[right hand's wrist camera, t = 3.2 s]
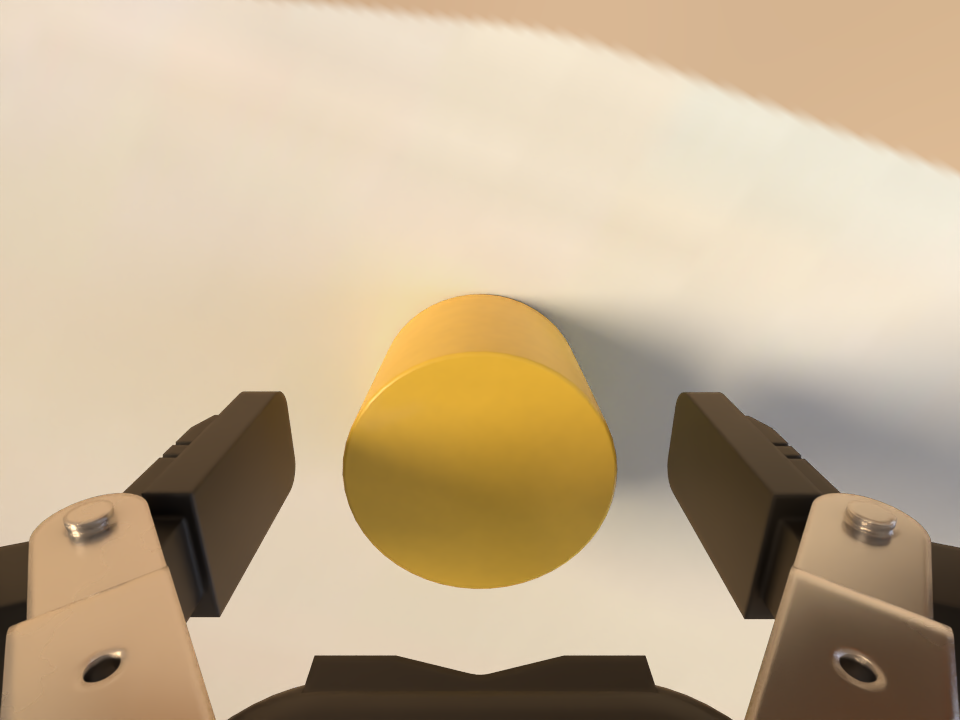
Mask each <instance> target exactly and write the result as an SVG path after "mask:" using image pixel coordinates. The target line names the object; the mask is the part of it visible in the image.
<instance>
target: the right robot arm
mask: <svg viewBox="0 0 960 720" xmlns="http://www.w3.org/2000/svg"><path fill="white" fill-rule="evenodd" d="M294 476H295V456H294V449H293V442H292V435H291V428H290V421H289V414H288V407H287V401H286V398H285V396H284V394H283V393H282V392H241V393H240V394H239V395H238V396H237V397H236V398H235V399H234V400H233V401H232V402H231V403H230V404H229V405H228V406H227V407H226V408H225V409H224V410H223V411H222V412H221V413H220V414H219V415H214V416H212V417H210V418H208V419H206V420H204V421H203V422H201V423H199V424H197V425H195V426H193V427H191V428H190V429H189V430H188V431H187V432H186V433H185V434H184V435H183V436H182V437H181V438H180V439H179V440H178V441H177V442H176V445H172V446H171V447H170V448H169V449H168V450H167V451H166V452H165V453H164V454H163V458H159V459H158V460H157V461H156V462H155V463H154V464H153V465H151V466H150V467H149V468H148V469H147V470H146V471H145V472H144V473H143V474H142V475H141V476H140V477H139V478H138V479H137V480H136V481H135V482H134V483H133V484H132V485H131V486H130V487H128V488H127V489H126V490H125V491H124V492H123V493H114V494H106V495H101V496H96V497H92V498H89V499H86V500H83V501H80V502H77V503H75V504H72V505H70V506H68V507H66V508H64V509H62V510H60V511H58V512H56V513H55V514H53V515H51V516H50V517H48V518H47V519H46V520H44V521H43V522H42V523H41V524H40V525H39V526H38V527H37V528H36V529H35V530H34V531H33V533H32V535H31V537H30V540H29V542H24V543H18V544H13V545H8V546H3V547H0V720H216V719H215V716H214V713H213V710H212V706H211V703H210V700H209V697H208V693H207V690H206V687H205V684H204V680H203V677H202V674H201V671H200V667H199V664H198V661H197V658H196V654H195V651H194V648H193V645H192V641H191V638H190V635H189V632H188V628H187V625H186V623H187V621H188V619H189V618H190V617H220V616H221V614H222V612H223V610H224V609H225V607H226V605H227V603H228V601H229V600H230V598H231V596H232V594H233V592H234V591H235V589H236V587H237V585H238V583H239V582H240V580H241V578H242V576H243V575H244V573H245V571H246V569H247V567H248V566H249V564H250V562H251V560H252V558H253V557H254V555H255V553H256V551H257V549H258V548H259V546H260V544H261V542H262V541H263V539H264V537H265V535H266V533H267V532H268V530H269V528H270V526H271V524H272V523H273V521H274V519H275V517H276V515H277V514H278V512H279V510H280V508H281V507H282V505H283V503H284V501H285V499H286V498H287V496H288V494H289V492H290V490H291V488H292V485H293V482H294ZM668 478H669V483H670V487H671V489H672V491H673V493H674V495H675V497H676V499H677V500H678V502H679V504H680V506H681V508H682V509H683V511H684V513H685V515H686V516H687V518H688V520H689V522H690V523H691V525H692V527H693V529H694V531H695V532H696V534H697V536H698V538H699V539H700V541H701V543H702V545H703V546H704V548H705V550H706V552H707V553H708V555H709V557H710V559H711V561H712V562H713V564H714V566H715V568H716V569H717V571H718V573H719V575H720V576H721V578H722V580H723V582H724V584H725V585H726V587H727V589H728V591H729V592H730V594H731V596H732V598H733V599H734V601H735V603H736V605H737V607H738V608H739V610H740V612H741V614H742V615H743V617H744V619H775V622H774V625H773V628H772V632H771V635H770V638H769V641H768V645H767V648H766V651H765V654H764V658H763V661H762V664H761V667H760V671H759V674H758V677H757V680H756V684H755V687H754V690H753V693H752V697H751V700H750V703H749V706H748V710H747V713H746V716H745V719H744V720H960V548H959V547H953V546H948V545H943V544H938V543H933V542H931V540H930V537H929V535H928V533H927V531H926V530H925V529H924V528H923V527H922V526H921V525H920V524H919V523H918V522H917V521H916V520H914V519H913V518H912V517H910V516H909V515H907V514H905V513H904V512H902V511H900V510H898V509H896V508H894V507H892V506H890V505H888V504H885V503H883V502H880V501H877V500H874V499H871V498H868V497H864V496H859V495H854V494H846V493H840V492H839V491H838V490H837V489H836V488H835V487H834V486H833V485H832V484H831V483H829V482H828V481H827V480H826V479H825V478H824V477H823V476H822V475H821V474H820V473H819V472H818V471H817V470H816V469H815V468H814V467H813V466H812V465H810V464H809V463H808V462H807V461H806V460H805V459H801V455H800V454H799V453H798V452H797V451H796V450H795V449H794V448H793V447H791V446H788V443H787V442H786V441H785V440H784V439H783V438H782V437H781V436H780V435H779V434H778V433H777V432H776V431H775V430H774V429H772V428H771V427H769V426H767V425H765V424H763V423H761V422H759V421H757V420H755V419H754V418H752V417H750V416H745V415H744V414H743V413H742V412H741V411H740V410H739V409H738V408H737V407H736V406H735V405H734V404H733V403H732V402H731V401H730V400H729V399H728V398H727V397H726V396H725V395H724V394H722V393H720V392H683V393H681V394H680V395H679V397H678V399H677V402H676V407H675V414H674V421H673V428H672V435H671V442H670V448H669V455H668ZM228 720H732V719H731V718H729V717H728V716H726V715H724V714H722V713H721V712H719V711H717V710H716V709H714V708H712V707H710V706H709V705H707V704H705V703H702V702H700V701H698V700H696V699H694V698H692V697H689V696H687V695H685V694H682V693H679V692H676V691H673V690H670V689H668V688H664V687H660V686H657V685H655V684H654V681H653V678H652V675H651V671H650V668H649V665H648V662H647V659H646V656H560V657H556V658H552V659H548V660H544V661H540V662H536V663H532V664H528V665H523V666H519V667H515V668H511V669H507V670H503V671H499V672H495V673H491V674H485V675H475V674H469V673H465V672H461V671H457V670H453V669H449V668H445V667H441V666H437V665H432V664H428V663H424V662H420V661H416V660H412V659H408V658H404V657H400V656H314V659H313V662H312V665H311V668H310V671H309V675H308V678H307V681H306V684H305V685H303V686H300V687H296V688H292V689H290V690H287V691H284V692H281V693H278V694H275V695H273V696H271V697H268V698H266V699H264V700H262V701H260V702H258V703H255V704H253V705H251V706H250V707H248V708H246V709H244V710H243V711H241V712H239V713H238V714H236V715H234V716H232V717H231V718H229V719H228Z"/></svg>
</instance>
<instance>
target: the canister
mask: <svg viewBox="0 0 960 720" xmlns="http://www.w3.org/2000/svg"><path fill="white" fill-rule="evenodd" d="M616 479H617V459H616V451H615V447H614V443H613V438H612V436H611V433H610V431H609V428H608V426H607V423H606V421H605V419H604V417H603V415H602V413H601V411H600V409H599V406H598V404H597V402H596V400H595V398H594V396H593V394H592V392H591V390H590V388H589V386H588V384H587V382H586V379H585V377H584V375H583V373H582V371H581V369H580V367H579V365H578V363H577V361H576V359H575V357H574V354H573V352H572V350H571V348H570V346H569V345H568V343H567V341H566V340H565V338H564V336H563V335H562V334H561V333H560V331H559V330H558V329H557V327H556V326H554V325H553V324H552V323H551V322H550V321H549V320H548V319H547V318H546V317H545V316H543V315H542V314H540V313H539V312H538V311H536V310H535V309H533V308H531V307H529V306H527V305H525V304H523V303H521V302H518V301H515V300H513V299H509V298H505V297H501V296H495V295H486V294H479V295H465V296H459V297H454V298H451V299H447V300H444V301H442V302H439V303H437V304H435V305H432V306H430V307H429V308H427V309H425V310H424V311H422V312H420V313H419V314H418V315H417V316H415V317H414V318H413V319H412V320H410V321H409V322H408V323H407V324H406V325H405V327H404V328H403V329H402V330H401V331H400V332H399V334H398V335H397V336H396V338H395V339H394V341H393V343H392V344H391V346H390V348H389V350H388V352H387V354H386V356H385V358H384V361H383V363H382V365H381V367H380V369H379V371H378V373H377V375H376V377H375V379H374V381H373V383H372V385H371V388H370V390H369V392H368V394H367V396H366V398H365V400H364V402H363V404H362V406H361V408H360V410H359V412H358V415H357V417H356V419H355V421H354V423H353V425H352V427H351V430H350V433H349V435H348V438H347V441H346V445H345V451H344V456H343V481H344V489H345V493H346V496H347V500H348V503H349V506H350V509H351V511H352V513H353V515H354V518H355V520H356V522H357V523H358V525H359V526H360V528H361V530H362V531H363V533H364V534H365V535H366V537H367V538H368V539H369V540H370V541H371V543H372V544H373V545H374V546H375V547H376V548H377V549H378V550H379V551H380V552H381V553H382V554H384V555H385V556H386V557H387V558H389V559H390V560H391V561H393V562H394V563H395V564H397V565H398V566H400V567H402V568H404V569H405V570H407V571H409V572H411V573H413V574H415V575H417V576H419V577H422V578H424V579H427V580H430V581H433V582H436V583H440V584H443V585H448V586H454V587H460V588H471V589H491V588H499V587H507V586H511V585H516V584H520V583H524V582H527V581H530V580H533V579H536V578H538V577H541V576H543V575H545V574H547V573H549V572H551V571H553V570H555V569H556V568H558V567H560V566H561V565H563V564H564V563H566V562H567V561H569V560H570V559H571V558H572V557H574V556H575V555H576V554H577V553H579V552H580V551H581V550H582V549H583V548H584V547H585V546H586V545H587V544H588V542H589V541H590V540H591V539H592V538H593V536H594V535H595V534H596V532H597V531H598V530H599V528H600V526H601V524H602V523H603V521H604V519H605V517H606V516H607V513H608V510H609V508H610V505H611V503H612V500H613V496H614V491H615V487H616Z"/></svg>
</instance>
